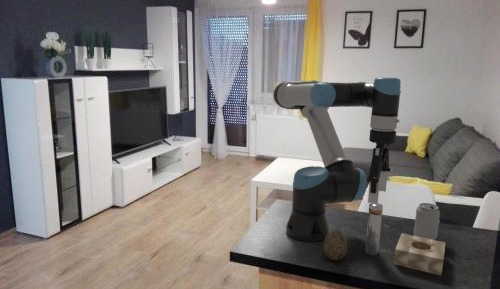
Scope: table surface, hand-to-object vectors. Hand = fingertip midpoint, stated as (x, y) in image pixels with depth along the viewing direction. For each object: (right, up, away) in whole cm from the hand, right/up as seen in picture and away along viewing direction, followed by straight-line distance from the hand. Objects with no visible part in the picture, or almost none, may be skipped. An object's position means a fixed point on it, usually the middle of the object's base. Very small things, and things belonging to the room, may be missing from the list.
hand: (377, 196), depth 121 cm
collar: (+13, -20, -1) cm, 23 cm away
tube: (-1, -18, +4) cm, 19 cm away
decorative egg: (-14, -19, -1) cm, 24 cm away
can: (+22, -17, +16) cm, 32 cm away
